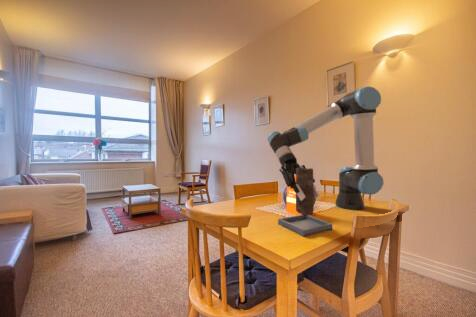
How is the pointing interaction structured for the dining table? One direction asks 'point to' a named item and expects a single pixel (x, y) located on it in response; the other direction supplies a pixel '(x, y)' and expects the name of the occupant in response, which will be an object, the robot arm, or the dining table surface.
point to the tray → (305, 225)
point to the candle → (305, 191)
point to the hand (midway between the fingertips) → (310, 197)
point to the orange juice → (291, 201)
